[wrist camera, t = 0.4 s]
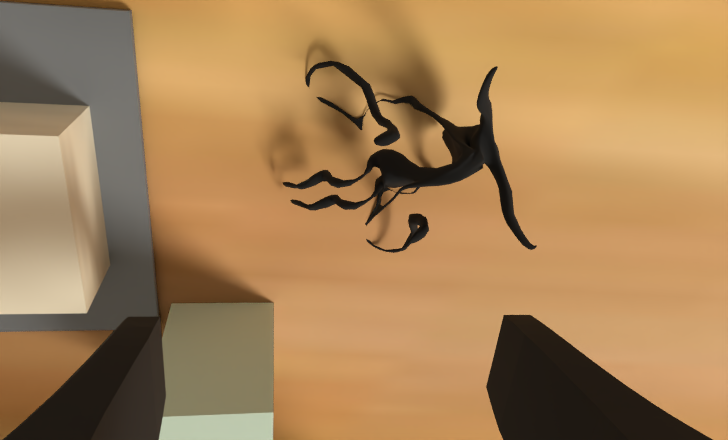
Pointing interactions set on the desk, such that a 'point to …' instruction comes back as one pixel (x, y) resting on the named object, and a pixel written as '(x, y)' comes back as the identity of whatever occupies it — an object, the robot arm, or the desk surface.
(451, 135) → the creature
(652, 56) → the desk surface
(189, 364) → the pillar block
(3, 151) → the base slab
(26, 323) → the mat
